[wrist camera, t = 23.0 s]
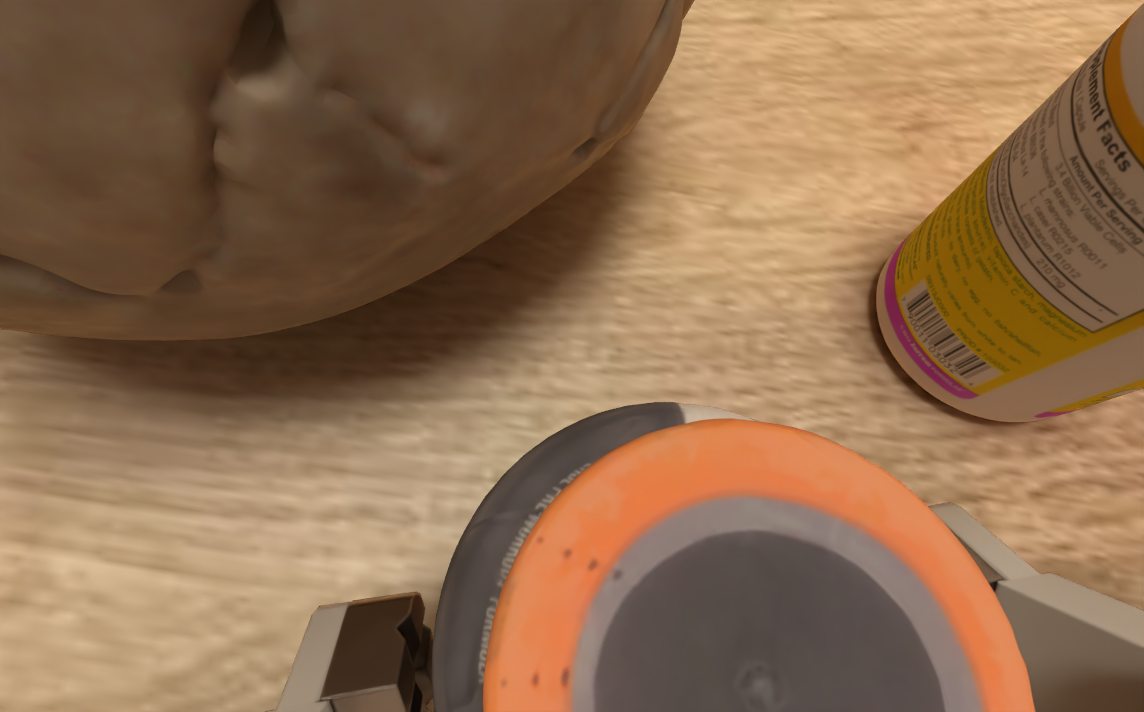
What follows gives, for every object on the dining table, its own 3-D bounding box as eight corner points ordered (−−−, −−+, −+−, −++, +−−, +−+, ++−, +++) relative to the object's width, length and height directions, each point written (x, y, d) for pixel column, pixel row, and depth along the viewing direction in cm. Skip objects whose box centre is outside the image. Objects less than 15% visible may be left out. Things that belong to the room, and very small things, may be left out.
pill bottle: (603, 441, 16) (691, 184, 5) (777, 590, 15) (1353, 641, 4) (453, 615, 14) (141, 740, 4) (633, 801, 13) (973, 1854, 2)
